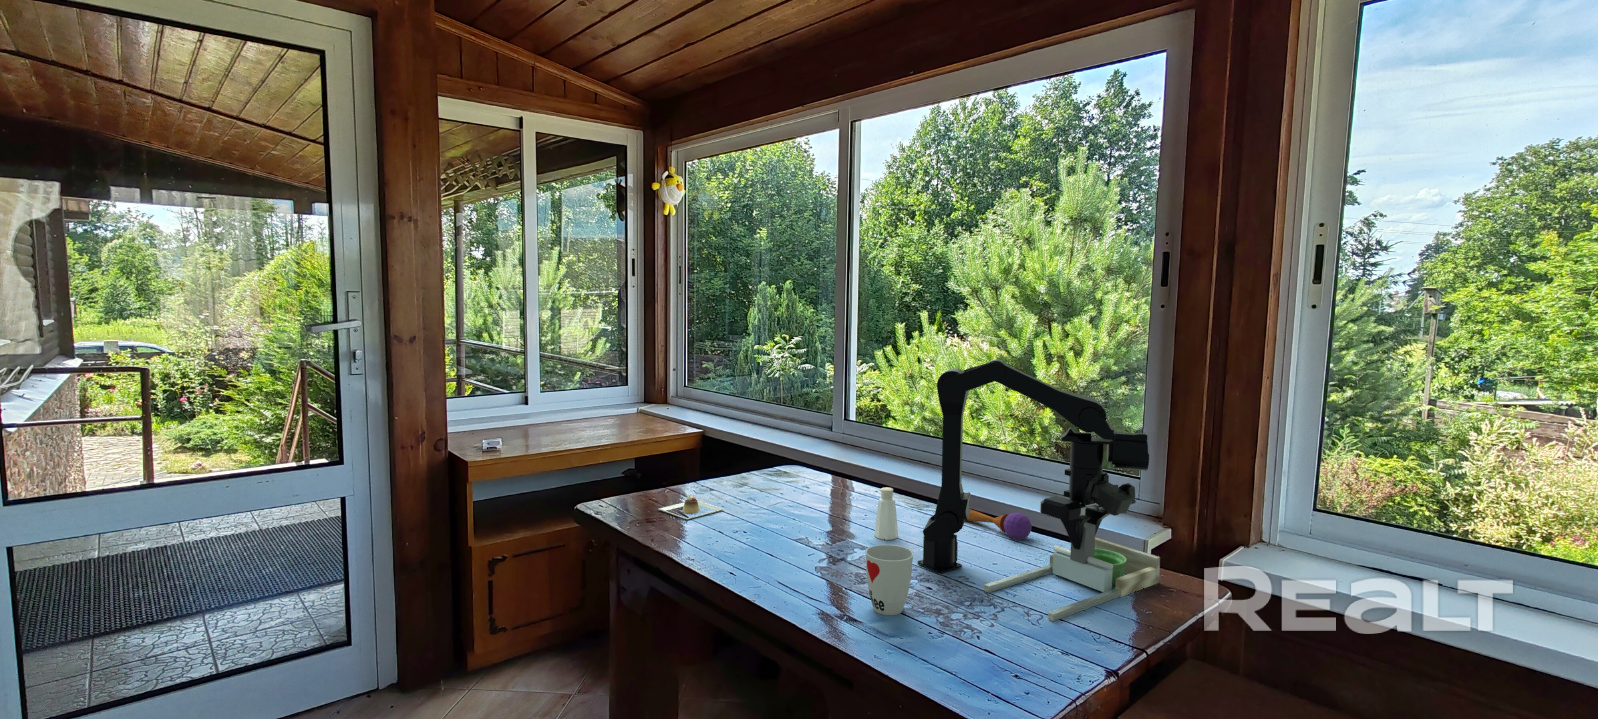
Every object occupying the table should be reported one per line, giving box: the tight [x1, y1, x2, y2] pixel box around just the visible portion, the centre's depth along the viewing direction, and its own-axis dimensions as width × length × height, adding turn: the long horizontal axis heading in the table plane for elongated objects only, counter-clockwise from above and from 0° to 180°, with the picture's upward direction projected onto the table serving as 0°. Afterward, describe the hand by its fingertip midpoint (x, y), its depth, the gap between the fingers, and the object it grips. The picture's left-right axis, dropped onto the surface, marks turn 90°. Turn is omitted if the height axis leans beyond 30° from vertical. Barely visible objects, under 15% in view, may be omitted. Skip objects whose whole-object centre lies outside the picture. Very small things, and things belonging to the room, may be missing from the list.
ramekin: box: [1094, 548, 1127, 586], centre depth 138 cm, size 9×9×4 cm
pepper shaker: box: [874, 486, 899, 541], centre depth 161 cm, size 5×5×11 cm
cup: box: [865, 544, 914, 616], centre depth 123 cm, size 8×8×10 cm
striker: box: [1052, 522, 1113, 593], centre depth 134 cm, size 3×12×11 cm, turn 33°
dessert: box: [658, 494, 725, 521], centre depth 180 cm, size 12×12×5 cm
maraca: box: [966, 508, 1032, 541], centre depth 167 cm, size 6×6×20 cm
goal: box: [983, 536, 1161, 622], centre depth 133 cm, size 31×15×5 cm, turn 123°
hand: (1082, 547), depth 134 cm, fingers open, 3 cm apart
